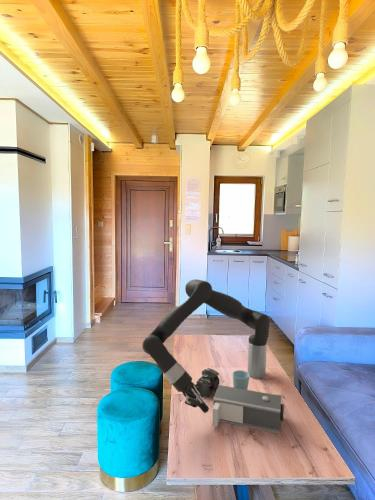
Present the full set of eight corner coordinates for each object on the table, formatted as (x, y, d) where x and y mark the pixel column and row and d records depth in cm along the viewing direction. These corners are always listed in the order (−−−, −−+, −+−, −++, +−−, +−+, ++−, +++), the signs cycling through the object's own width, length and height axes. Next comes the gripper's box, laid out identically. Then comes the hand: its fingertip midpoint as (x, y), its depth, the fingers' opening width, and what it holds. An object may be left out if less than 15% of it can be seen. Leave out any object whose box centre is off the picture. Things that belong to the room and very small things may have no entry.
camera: (217, 399, 143) (217, 378, 142) (195, 396, 145) (195, 375, 144) (220, 384, 156) (220, 364, 155) (200, 381, 158) (200, 362, 157)
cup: (235, 401, 141) (236, 379, 140) (229, 392, 149) (230, 371, 148) (251, 399, 143) (252, 377, 142) (244, 390, 150) (245, 369, 149)
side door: (215, 416, 129) (216, 400, 128) (242, 422, 125) (243, 405, 125) (212, 425, 123) (212, 408, 122) (240, 431, 120) (241, 414, 119)
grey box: (218, 404, 139) (219, 383, 138) (283, 417, 130) (284, 394, 129) (212, 420, 128) (213, 397, 127) (282, 434, 120) (283, 410, 119)
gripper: (178, 379, 120) (209, 416, 117) (189, 363, 132) (217, 396, 130) (165, 390, 122) (195, 426, 119) (177, 374, 134) (205, 406, 132)
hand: (207, 411), depth 125 cm, fingers closed
